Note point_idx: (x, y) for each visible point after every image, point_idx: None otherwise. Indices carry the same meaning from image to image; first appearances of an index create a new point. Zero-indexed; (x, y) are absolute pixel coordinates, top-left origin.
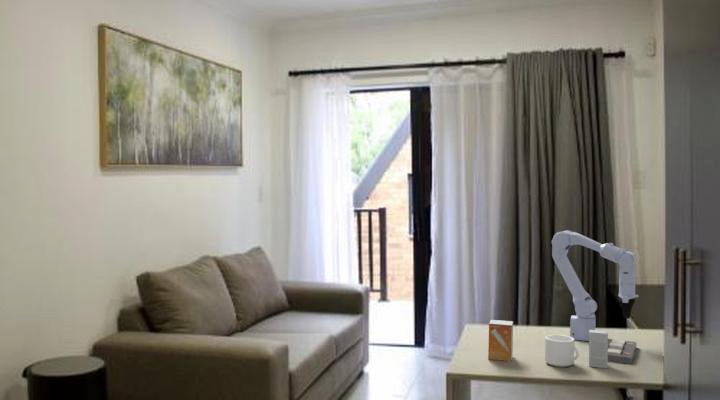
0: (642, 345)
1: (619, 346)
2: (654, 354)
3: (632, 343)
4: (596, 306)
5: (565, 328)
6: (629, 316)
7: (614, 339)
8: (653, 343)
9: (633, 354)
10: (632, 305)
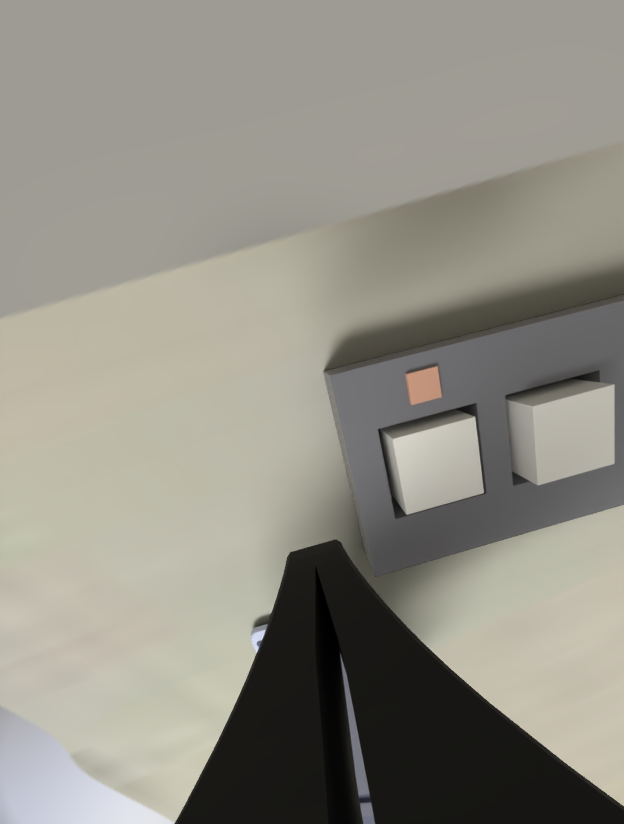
0: (228, 359)
1: (611, 401)
2: (410, 217)
3: (390, 384)
4: None
5: (179, 806)
6: (348, 561)
7: (405, 504)
8: (105, 314)
9: (561, 312)
10: (620, 807)
